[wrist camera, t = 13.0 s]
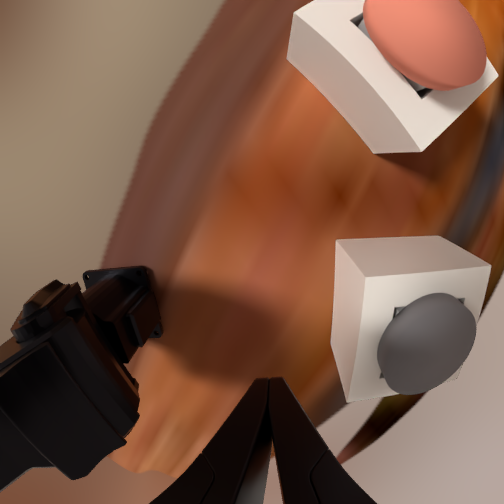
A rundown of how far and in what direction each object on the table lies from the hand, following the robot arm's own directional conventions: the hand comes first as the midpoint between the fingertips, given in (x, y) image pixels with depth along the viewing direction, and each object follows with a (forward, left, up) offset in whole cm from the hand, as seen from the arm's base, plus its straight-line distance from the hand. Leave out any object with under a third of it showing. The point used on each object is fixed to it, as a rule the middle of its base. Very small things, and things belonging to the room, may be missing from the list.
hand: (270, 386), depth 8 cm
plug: (+9, -4, -12) cm, 16 cm away
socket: (+9, -4, -13) cm, 16 cm away
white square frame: (+9, +13, -13) cm, 20 cm away
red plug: (+9, +13, -12) cm, 20 cm away
